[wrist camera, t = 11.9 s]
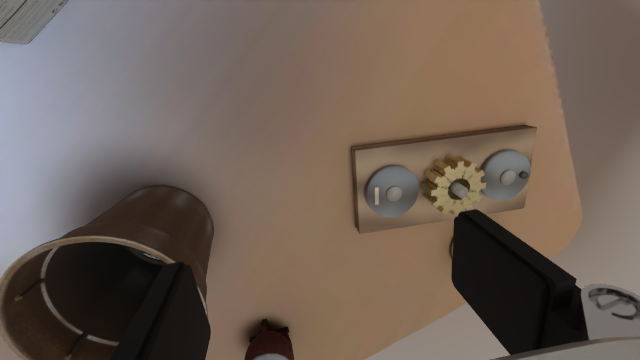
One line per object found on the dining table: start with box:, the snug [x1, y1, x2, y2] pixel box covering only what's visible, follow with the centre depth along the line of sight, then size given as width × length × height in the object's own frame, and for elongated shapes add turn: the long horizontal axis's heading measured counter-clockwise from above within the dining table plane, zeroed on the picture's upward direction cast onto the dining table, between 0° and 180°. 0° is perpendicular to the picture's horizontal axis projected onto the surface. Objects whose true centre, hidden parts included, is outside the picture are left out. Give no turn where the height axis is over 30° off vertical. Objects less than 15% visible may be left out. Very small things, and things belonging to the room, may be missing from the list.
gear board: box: [351, 125, 537, 234], centre depth 42 cm, size 12×25×6 cm, turn 95°
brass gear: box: [421, 155, 486, 216], centre depth 41 cm, size 7×7×3 cm
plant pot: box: [0, 186, 214, 360], centre depth 34 cm, size 16×16×16 cm
